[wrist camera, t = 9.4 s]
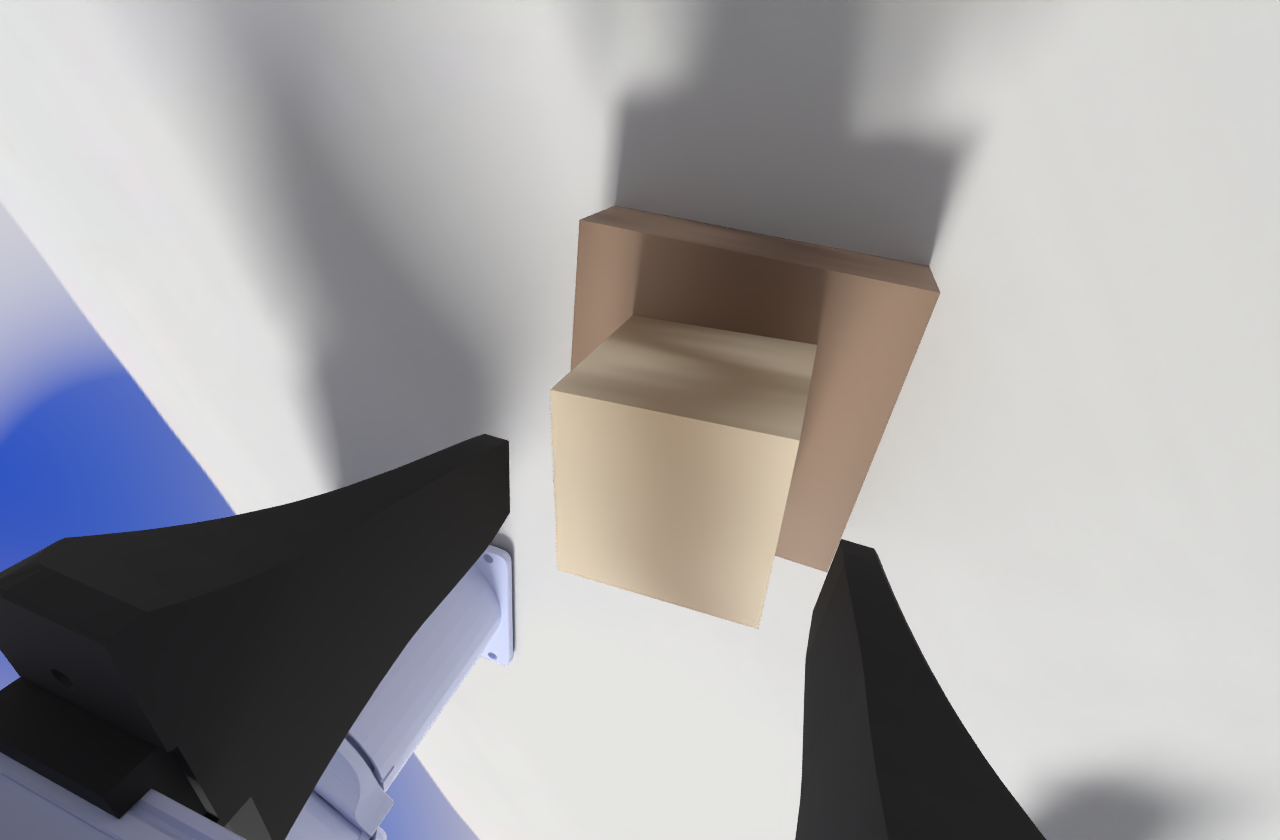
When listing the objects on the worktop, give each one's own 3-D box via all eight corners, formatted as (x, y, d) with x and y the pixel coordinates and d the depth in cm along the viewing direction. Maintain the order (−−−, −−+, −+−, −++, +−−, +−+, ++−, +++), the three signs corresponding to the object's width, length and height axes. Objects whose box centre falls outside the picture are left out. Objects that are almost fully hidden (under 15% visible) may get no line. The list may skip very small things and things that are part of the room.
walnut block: (597, 445, 22) (564, 488, 20) (619, 203, 17) (579, 219, 15) (831, 514, 20) (826, 572, 18) (927, 262, 15) (940, 292, 13)
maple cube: (626, 464, 18) (556, 569, 14) (632, 315, 16) (550, 389, 12) (783, 501, 17) (758, 629, 13) (817, 344, 14) (800, 440, 10)
